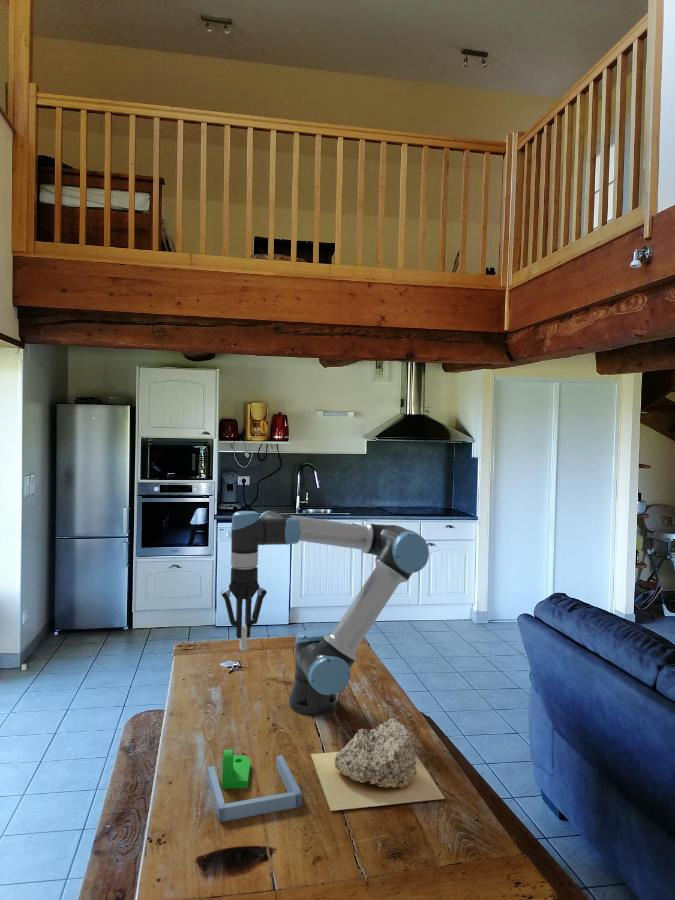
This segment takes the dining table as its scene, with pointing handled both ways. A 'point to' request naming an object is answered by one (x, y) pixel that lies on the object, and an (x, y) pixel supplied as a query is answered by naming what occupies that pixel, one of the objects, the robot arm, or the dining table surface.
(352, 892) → the dining table surface
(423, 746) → the dining table surface
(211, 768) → the hub cradle
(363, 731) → the rock
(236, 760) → the mechanical part
